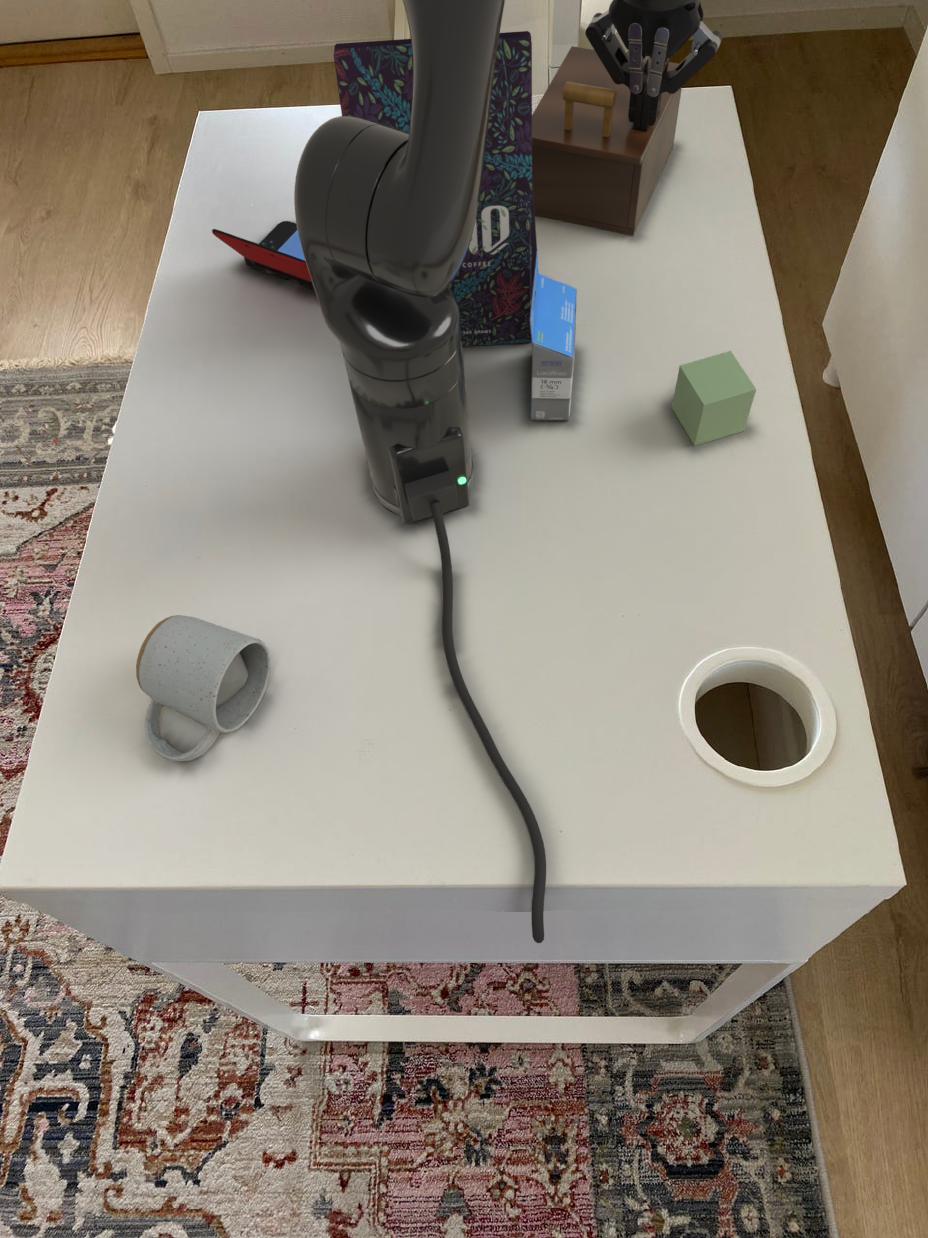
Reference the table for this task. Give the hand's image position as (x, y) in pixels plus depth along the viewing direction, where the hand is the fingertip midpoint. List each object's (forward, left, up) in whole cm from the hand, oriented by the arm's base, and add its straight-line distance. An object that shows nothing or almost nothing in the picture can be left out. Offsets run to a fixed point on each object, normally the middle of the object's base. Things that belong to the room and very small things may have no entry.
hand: (642, 124), depth 95 cm
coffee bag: (-9, +24, -10) cm, 27 cm away
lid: (+6, +2, -1) cm, 6 cm away
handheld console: (+4, +37, -10) cm, 38 cm away
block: (-30, +6, -10) cm, 32 cm away
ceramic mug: (-43, +56, -10) cm, 71 cm away
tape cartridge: (-21, +18, -10) cm, 29 cm away
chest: (+6, +2, -10) cm, 11 cm away
